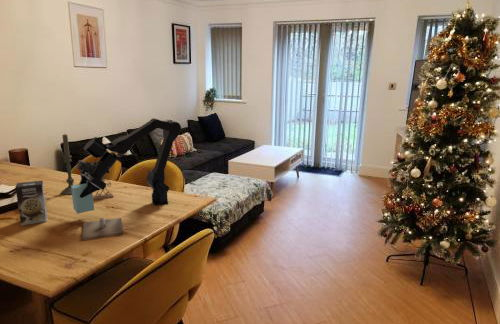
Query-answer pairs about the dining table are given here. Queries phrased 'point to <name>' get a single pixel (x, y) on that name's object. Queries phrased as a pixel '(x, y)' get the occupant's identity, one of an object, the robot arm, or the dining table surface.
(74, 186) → the light blue rectangular block
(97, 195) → the brown scrollwork stand
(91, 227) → the post board
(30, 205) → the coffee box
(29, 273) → the dining table surface
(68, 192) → the candlestick holder
